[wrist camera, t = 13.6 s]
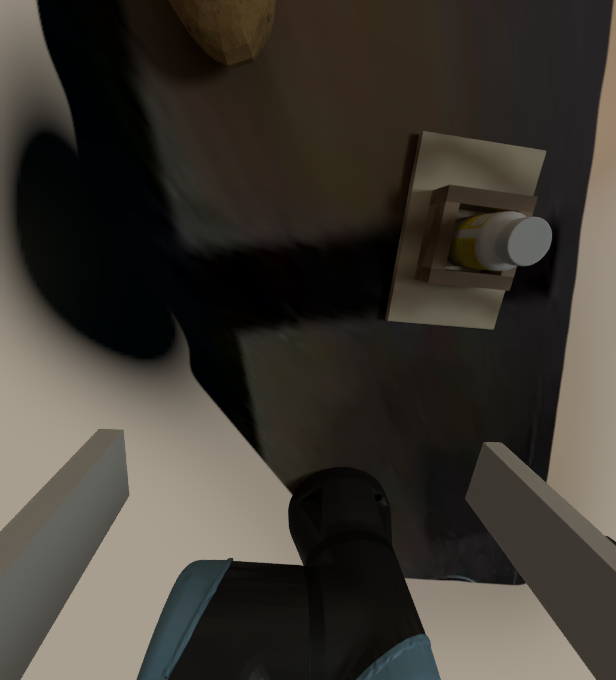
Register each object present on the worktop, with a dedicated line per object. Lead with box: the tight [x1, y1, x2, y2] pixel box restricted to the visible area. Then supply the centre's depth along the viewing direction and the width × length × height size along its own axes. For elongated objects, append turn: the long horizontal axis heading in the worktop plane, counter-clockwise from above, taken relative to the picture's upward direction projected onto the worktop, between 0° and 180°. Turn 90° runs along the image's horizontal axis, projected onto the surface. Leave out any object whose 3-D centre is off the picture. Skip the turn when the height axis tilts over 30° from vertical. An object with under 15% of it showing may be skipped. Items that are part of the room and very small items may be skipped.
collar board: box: [385, 131, 546, 329], centre depth 34 cm, size 20×14×4 cm
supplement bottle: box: [447, 211, 552, 271], centre depth 30 cm, size 5×5×10 cm
